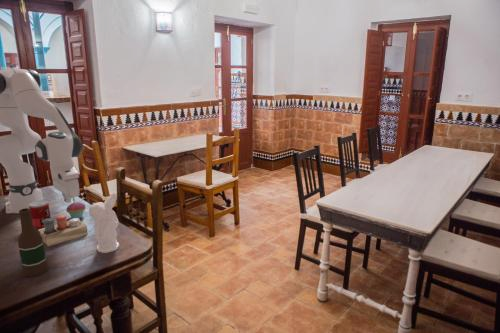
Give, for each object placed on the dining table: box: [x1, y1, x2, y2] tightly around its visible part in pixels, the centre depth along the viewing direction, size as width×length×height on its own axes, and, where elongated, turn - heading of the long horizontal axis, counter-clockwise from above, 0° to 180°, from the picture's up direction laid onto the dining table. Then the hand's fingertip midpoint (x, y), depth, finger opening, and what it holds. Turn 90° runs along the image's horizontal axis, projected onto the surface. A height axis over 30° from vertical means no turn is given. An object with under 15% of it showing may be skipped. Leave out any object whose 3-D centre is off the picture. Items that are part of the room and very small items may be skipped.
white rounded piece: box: [68, 218, 81, 227], centre depth 159 cm, size 4×4×6 cm
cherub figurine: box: [88, 193, 120, 254], centre depth 145 cm, size 12×12×22 cm
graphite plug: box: [42, 217, 55, 234], centre depth 152 cm, size 4×4×6 cm
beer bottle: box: [17, 208, 48, 278], centre depth 127 cm, size 8×8×24 cm
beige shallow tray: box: [37, 220, 89, 248], centre depth 156 cm, size 11×16×4 cm
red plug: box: [54, 214, 67, 231], centre depth 155 cm, size 4×4×6 cm
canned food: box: [29, 199, 52, 229], centre depth 166 cm, size 8×8×11 cm
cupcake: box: [66, 197, 87, 219], centre depth 175 cm, size 9×8×12 cm
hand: (67, 201), depth 155 cm, fingers closed
